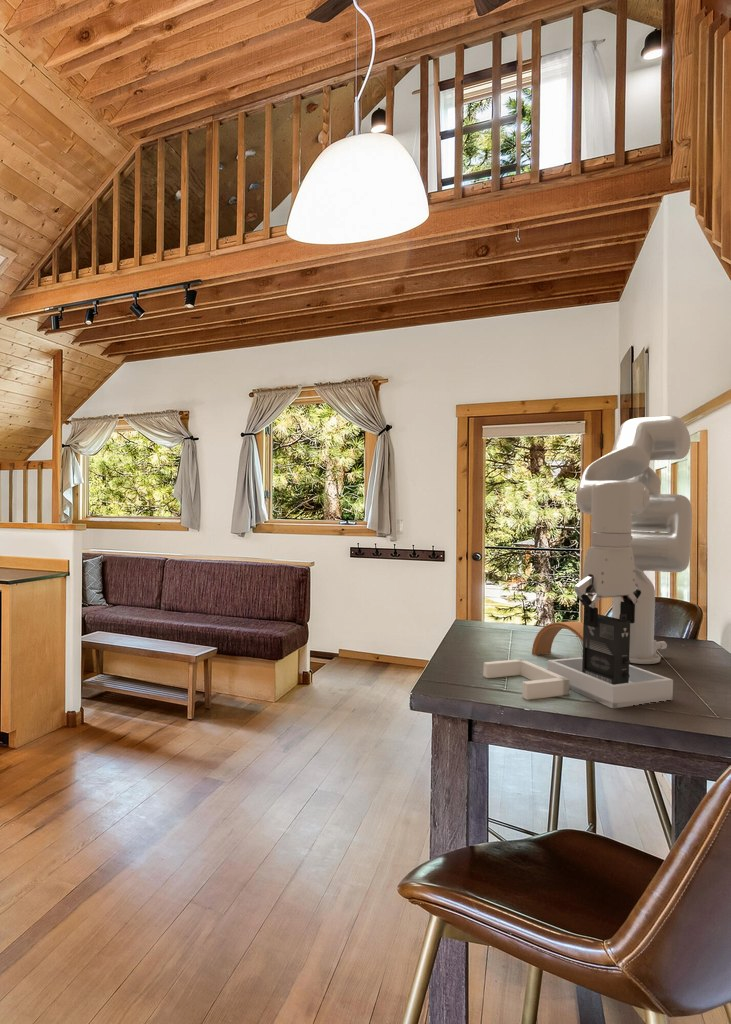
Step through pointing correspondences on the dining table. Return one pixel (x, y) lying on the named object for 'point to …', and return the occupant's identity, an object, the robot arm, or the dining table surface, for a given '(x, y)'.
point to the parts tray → (614, 696)
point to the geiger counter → (607, 649)
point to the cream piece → (541, 678)
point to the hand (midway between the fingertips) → (609, 623)
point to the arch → (550, 631)
